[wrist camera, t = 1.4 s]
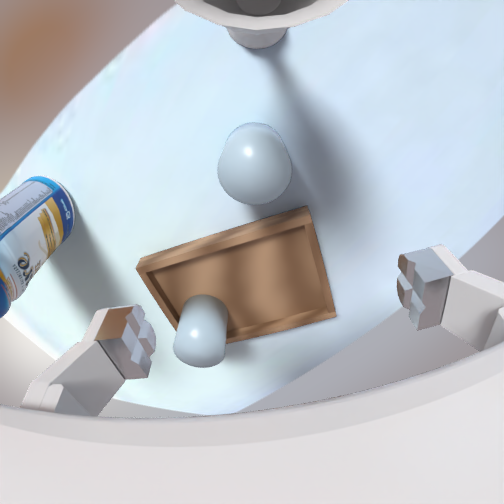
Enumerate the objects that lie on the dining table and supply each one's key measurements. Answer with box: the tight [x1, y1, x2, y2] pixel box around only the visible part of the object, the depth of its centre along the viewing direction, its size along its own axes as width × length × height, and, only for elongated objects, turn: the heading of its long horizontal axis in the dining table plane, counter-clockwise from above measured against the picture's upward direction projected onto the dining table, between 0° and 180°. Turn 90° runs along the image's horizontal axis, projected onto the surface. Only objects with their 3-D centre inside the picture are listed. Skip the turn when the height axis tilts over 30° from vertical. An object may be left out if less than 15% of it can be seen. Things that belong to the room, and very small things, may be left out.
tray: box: [136, 206, 336, 344], centre depth 33 cm, size 18×13×2 cm
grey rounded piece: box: [218, 122, 292, 205], centre depth 24 cm, size 5×5×6 cm
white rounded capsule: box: [173, 294, 228, 368], centre depth 33 cm, size 5×5×6 cm
